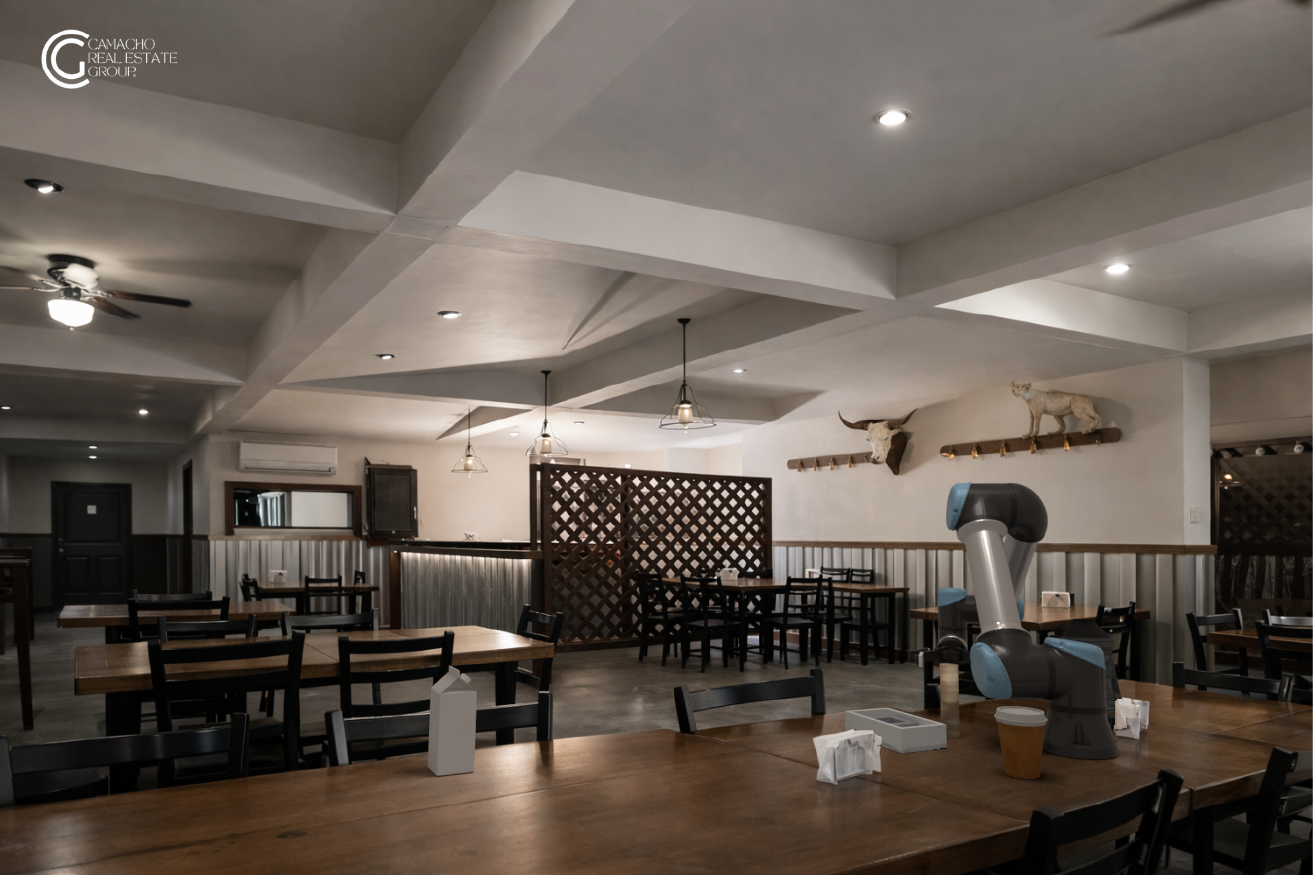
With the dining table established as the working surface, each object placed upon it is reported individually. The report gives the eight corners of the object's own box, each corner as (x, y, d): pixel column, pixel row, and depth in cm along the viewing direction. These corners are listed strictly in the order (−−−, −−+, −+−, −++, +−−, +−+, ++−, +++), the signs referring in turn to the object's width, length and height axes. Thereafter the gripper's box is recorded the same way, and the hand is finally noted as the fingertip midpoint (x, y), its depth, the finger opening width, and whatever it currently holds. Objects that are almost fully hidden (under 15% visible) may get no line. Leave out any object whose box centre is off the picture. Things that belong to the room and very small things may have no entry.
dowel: (963, 737, 205) (961, 665, 207) (949, 738, 203) (948, 666, 205) (951, 733, 209) (949, 663, 210) (937, 735, 207) (936, 663, 209)
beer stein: (1126, 733, 211) (1122, 625, 213) (1037, 724, 221) (1033, 620, 223) (1130, 721, 225) (1126, 619, 228) (1046, 712, 235) (1043, 615, 237)
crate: (946, 748, 194) (946, 724, 195) (901, 753, 189) (901, 728, 190) (887, 729, 212) (887, 707, 213) (845, 733, 208) (844, 710, 208)
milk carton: (436, 777, 167) (440, 671, 169) (427, 767, 173) (431, 666, 175) (474, 772, 170) (477, 669, 172) (464, 763, 177) (467, 664, 178)
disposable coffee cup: (1057, 781, 169) (1055, 715, 170) (1006, 780, 169) (1004, 714, 170) (1037, 768, 178) (1035, 706, 180) (988, 767, 179) (987, 705, 180)
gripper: (1003, 668, 233) (1005, 682, 213) (902, 662, 241) (896, 675, 221) (1002, 639, 233) (1005, 650, 213) (902, 633, 241) (896, 644, 222)
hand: (949, 663), depth 217 cm, fingers open, 13 cm apart
